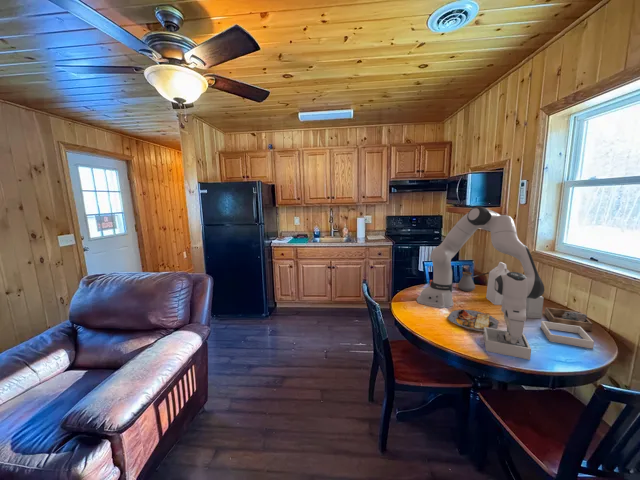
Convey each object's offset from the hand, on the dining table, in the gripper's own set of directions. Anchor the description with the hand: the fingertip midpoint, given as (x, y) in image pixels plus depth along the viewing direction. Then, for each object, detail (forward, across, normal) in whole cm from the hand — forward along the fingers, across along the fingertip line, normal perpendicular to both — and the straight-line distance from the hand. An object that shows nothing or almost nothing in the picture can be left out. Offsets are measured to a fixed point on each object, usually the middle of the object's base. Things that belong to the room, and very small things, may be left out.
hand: (510, 337), depth 119 cm
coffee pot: (+6, -78, -11) cm, 79 cm away
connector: (+5, 0, 0) cm, 5 cm away
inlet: (+5, 0, 0) cm, 5 cm away
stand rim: (+5, -42, +31) cm, 52 cm away
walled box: (+5, 0, -2) cm, 6 cm away
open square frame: (+5, -22, +25) cm, 34 cm away
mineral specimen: (+6, -41, +33) cm, 53 cm away
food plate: (+6, -22, -14) cm, 27 cm away
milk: (+6, -61, +3) cm, 61 cm away
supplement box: (+6, -44, +16) cm, 47 cm away
